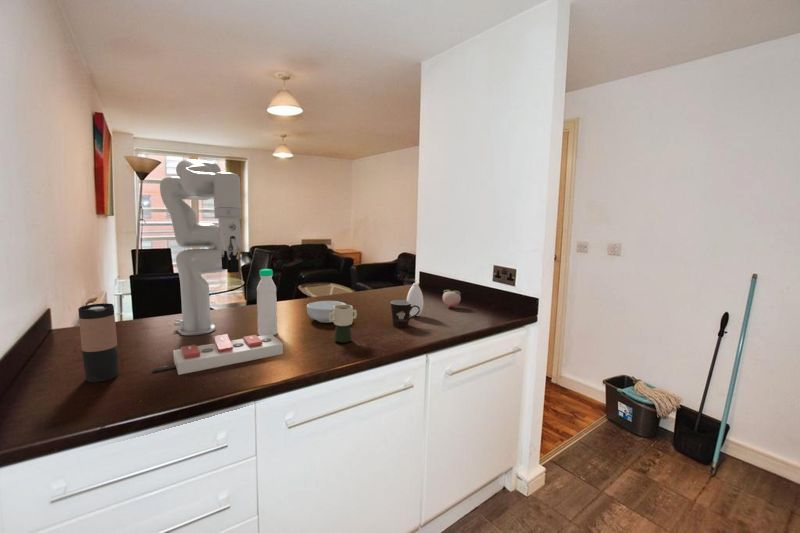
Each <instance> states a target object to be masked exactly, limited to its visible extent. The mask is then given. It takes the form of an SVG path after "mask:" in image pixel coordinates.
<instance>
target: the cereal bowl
mask: <svg viewBox="0 0 800 533" xmlns="http://www.w3.org/2000/svg"><path fill="white" fill-rule="evenodd" d="M335 305H347V303H345V302H342V301H337V300H321V301H320V300H319V301H314V302H309V303H307V305H306V312H307V315H308V316H309V317H310V318H311V319H312V320H316V321H317V322H319V323H323V324H324V323H330V322H329V313H333V307H334V306H335ZM331 319H333V315H332V316H331Z"/></svg>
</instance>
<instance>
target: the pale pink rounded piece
mask: <svg viewBox="0 0 800 533" xmlns="http://www.w3.org/2000/svg"><path fill="white" fill-rule="evenodd" d="M442 293H443V294H442V302H443V304H444V305H446V306H447V307H449V308H451V309H452V308H454V307H456V306H458V305H459V304H460V302H461V295H462V293H461V292H460V291H459V290H452V289H451V290H450V289H444V290H443V291H442Z"/></svg>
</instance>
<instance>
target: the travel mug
mask: <svg viewBox="0 0 800 533" xmlns="http://www.w3.org/2000/svg"><path fill="white" fill-rule="evenodd" d="M114 305H115V304H113V303H108V302H107V303H92V304H87V305H83V306H80V307H78V309H77V310H78V321H79V329H80V330H79V333H80V343H81V344H80V345H81V355H82V362H83V370H84V375H85V380H87V381H86V382H88V383H101V382H100V381H102V382H105V381H104V380H106V381H109V380H108V379H110V380H112V379H114V377H115V378H116V377H117V376H118V375H119V373H120V372H119V350H118V339H117V335H118V334H117V327H116V326H117V325H116V316H115V307H114ZM111 378H112V379H111Z"/></svg>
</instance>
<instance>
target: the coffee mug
mask: <svg viewBox="0 0 800 533" xmlns="http://www.w3.org/2000/svg"><path fill="white" fill-rule="evenodd" d="M413 307H417V308H418V309H419V311H418V313H419V312H420V308H419V307H418V306H416V305H414V306H412V307H411V302H409V301H407V300H405V299H403V300H401V299H399V300H397V299H396V300H392V301H390V309H391V320H392V327H393V326H394V327H393V328H396V327H398V329H405V328H404V327H406V328H407V326H408V327H409V322H410V320H411V319H413V318H416V317H415V316H416V315H417V314H418V313H417V314H415V315H414V316H411V314H410V311H411V309H412V308H413Z"/></svg>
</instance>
